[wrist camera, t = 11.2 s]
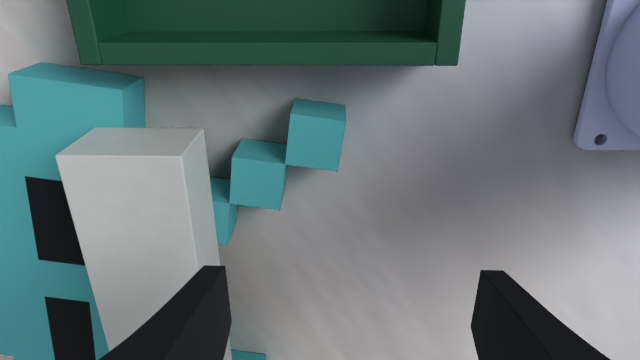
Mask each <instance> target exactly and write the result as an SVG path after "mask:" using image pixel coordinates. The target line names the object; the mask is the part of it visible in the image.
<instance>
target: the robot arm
mask: <svg viewBox="0 0 640 360" xmlns="http://www.w3.org/2000/svg"><path fill="white" fill-rule="evenodd" d="M599 134H602V138H601V140H599V141H598V142H594V139H595V138H596V136H598V135H599ZM573 141H574V143H575V145H577V146H578V147H579V148H581V149H584V150H640V0H607V4H606V8H605V12H604V16H603V20H602V24H601V28H600V32H599V36H598V40H597V44H596V48H595V52H594V56H593V60H592V64H591V68H590V72H589V76H588V80H587V84H586V88H585V92H584V96H583V100H582V104H581V109H580V113H579V117H578V121H577V125H576V129H575V133H574V137H573ZM230 327H231V312H230V304H229V295H228V287H227V278H226V269H225V266H209V265H204V266H203V267H202V268H201V269H200V270H199V271H198V272H197V273H196V274H195V275H194V276H193V277H192V278H191V279H190V280H189V281H188V282H187V283H186V284H185V285H184V286H183V287H182V288H181V289H180V290H179V291H178V292H177V293H176V294H175V295H174V296H173V297H172V298H171V299H170V300H169V301H168V302H167V303H166V304H165V305H164V306H163V307H161V308H160V309H159V310H158V311H157V312H156V313H155V314H154V315H153V316H152V317H151V318H150V319H149V320H147V321H146V322H145V323H144V324H143V325H142V326H141V327H139V328H138V329H137V330H136V331H135V332H134V333H133V334H131V335H130V336H129V337H128V338H126V339H125V340H124V341H123V342H121V343H120V344H119V345H118V346H116V347H115V348H113V349H112V350H111V351H109V352H108V353H107V354H105V355H104V356H103V357H101V358H100V359H98V360H223V359H224V355H225V351H226V347H227V342H228V337H229V332H230ZM471 330H472V334H473V338H474V343H475V347H476V351H477V355H478V359H479V360H610V359H609V358H607V357H606V356H605V355H603V354H602V353H600V352H599V351H598V350H596V349H595V348H594V347H592V346H591V345H590V344H588V343H587V342H586V341H585V340H583V339H582V338H581V337H579V336H578V335H577V334H576V333H574V332H573V331H572V330H571V329H569V328H568V327H567V326H566V325H564V324H563V323H562V322H561V321H560V320H558V319H557V318H556V317H555V316H554V315H553V314H551V313H550V312H549V311H548V310H547V309H546V308H544V307H543V306H542V305H541V304H540V303H539V302H538V301H537V300H535V299H534V298H533V297H532V296H531V295H530V294H529V293H528V292H527V291H526V290H524V289H523V288H522V287H521V286H520V285H519V284H518V283H517V282H516V281H514V280H513V279H512V278H511V277H510V276H509V275H508V274H507V273H505V272H504V271H497V270H481V272H480V278H479V284H478V289H477V295H476V300H475V306H474V311H473V317H472V322H471Z"/></svg>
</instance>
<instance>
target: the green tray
mask: <svg viewBox="0 0 640 360" xmlns="http://www.w3.org/2000/svg"><path fill="white" fill-rule="evenodd" d="M465 1H466V0H67V5H68V9H69V13H70V18H71V22H72V26H73V31H74V35H75V40H76V44H77V48H78V53H79V57H80V61H81V64H83V65H101V64H103V65H406V66H433V65H436V66H456V65H457V64H458V57H459V49H460V41H461V33H462V25H463V17H464V9H465Z"/></svg>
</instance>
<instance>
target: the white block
mask: <svg viewBox="0 0 640 360" xmlns="http://www.w3.org/2000/svg"><path fill="white" fill-rule="evenodd" d="M55 158H56V162H57V165H58V169H59V172H60V176H61V180H62V183H63V187H64V190H65V194H66V197H67V201H68V205H69V208H70V212H71V215H72V219H73V223H74V226H75V230H76V233H77V237H78V240H79V244H80V248H81V251H82V255H83V258H84V262H85V266H86V269H87V273H88V276H89V280H90V284H91V287H92V291H93V294H94V298H95V301H96V305H97V309H98V312H99V316H100V319H101V323H102V327H103V330H104V334H105V337H106V341H107V345H108V348H109V351H111V350H112V349H113V348H115V347H116V346H118V345H119V344H120V343H121V342H123V341H124V340H125V339H126V338H128V337H129V336H130V335H131V334H133V333H134V332H135V331H136V330H137V329H138V328H139V327H141V326H142V325H143V324H144V323H145V322H146V321H147V320H149V319H150V318H151V317H152V316H153V315H154V314H155V313H156V312H157V311H158V310H159V309H160V308H161V307H163V306H164V305H165V304H166V303H167V302H168V301H169V300H170V299H171V298H172V297H173V296H174V295H175V294H176V293H177V292H178V291H179V290H180V289H181V288H182V287H183V286H184V285H185V284H186V283H187V282H188V281H189V280H190V279H191V278H192V277H193V276H194V275H195V274H196V273H197V272H198V271H199V270H200V269H201V268H202V267H203V266H204V265H209V266H220V258H219V250H218V241H217V233H216V225H215V217H214V209H213V201H212V192H211V184H210V176H209V168H208V160H207V151H206V143H205V135H204V129H203V128H104V127H95V128H94V129H92V130H91V131H89V132H88V133H87V134H85V135H84V136H82V137H81V138H79V139H78V140H77V141H75V142H74V143H72V144H71V145H69V146H68V147H67V148H65V149H64V150H62V151H61V152H59V153H58V154H57V155H56V156H55ZM223 360H232V356H231V348H230V339H229V337H228V342H227V347H226V351H225V355H224V359H223Z"/></svg>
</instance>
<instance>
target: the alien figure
mask: <svg viewBox="0 0 640 360" xmlns="http://www.w3.org/2000/svg"><path fill="white" fill-rule="evenodd" d="M8 78H9V84H10V91H11V97H12V103H13V107H12V106H5V105H0V354H5V355H13V356H14V360H98V359H100V358H101V357H103V356H104V355H105V354H107V353H108V352H109V348H108V345H107V341H106V337H105V334H104V330H103V327H102V323H101V319H100V316H99V312H98V309H97V305H96V301H95V298H94V294H93V291H92V287H91V284H90V280H89V276H88V273H87V269H86V266H85V262H84V258H83V255H82V251H81V248H80V244H79V240H78V237H77V233H76V230H75V226H74V223H73V219H72V215H71V212H70V208H69V205H68V201H67V197H66V194H65V190H64V187H63V183H62V180H61V176H60V172H59V169H58V165H57V162H56V158H55V156H56V155H57V154H58V153H59V152H61V151H62V150H64V149H65V148H67V147H68V146H69V145H71V144H72V143H74V142H75V141H77V140H78V139H79V138H81V137H82V136H84V135H85V134H87V133H88V132H89V131H91V130H92V129H94V128H95V127H104V128H145V104H144V77H141V76H134V75H126V74H119V73H112V72H105V71H98V70H91V69H84V68H77V67H70V66H63V65H55V64H48V63H38V64H35V65H32V66H29V67H27V68H24V69H21V70H18V71H15V72H12V73H10V74H8ZM345 124H346V112H345V105H339V104H332V103H325V102H318V101H311V100H304V99H297V98H295V101H294V104H293V107H292V110H291V114H290V123H289V132H288V141H287V144H279V143H272V142H265V141H258V140H250V139H243V138H242V139H241V141H240V143H239V145H238V147H237V149H236V150H235V152H234V154H233V156H232V164H231V180H226V179H219V178H211V177H210V184H211V192H212V201H213V209H214V217H215V225H216V233H217V241H218V244H219V245H226V246H227V245H228V242H229V239H230V237H231V234H232V232H233V229H234V226H235V224H236V221H237V209H238V205H244V206H251V207H259V208H266V209H274V210H280V207H281V203H282V199H283V194H284V190H285V184H286V175H287V166H288V165H292V166H300V167H307V168H314V169H322V170H329V171H336V172H338V166H339V160H340V154H341V148H342V142H343V136H344V130H345ZM229 335H230V332H229ZM231 356H232V360H266V354H258V353H250V352H242V351H234V350H231Z"/></svg>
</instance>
